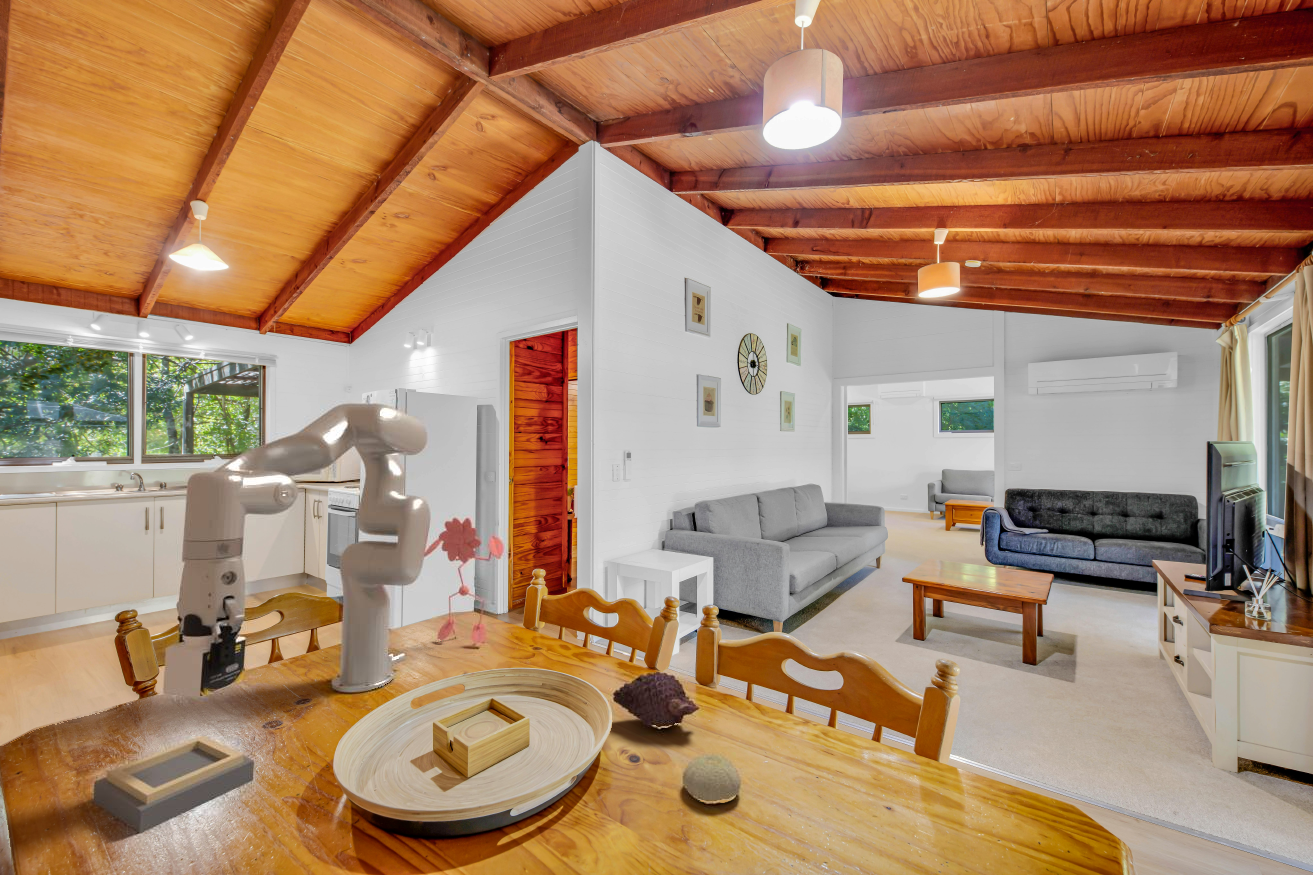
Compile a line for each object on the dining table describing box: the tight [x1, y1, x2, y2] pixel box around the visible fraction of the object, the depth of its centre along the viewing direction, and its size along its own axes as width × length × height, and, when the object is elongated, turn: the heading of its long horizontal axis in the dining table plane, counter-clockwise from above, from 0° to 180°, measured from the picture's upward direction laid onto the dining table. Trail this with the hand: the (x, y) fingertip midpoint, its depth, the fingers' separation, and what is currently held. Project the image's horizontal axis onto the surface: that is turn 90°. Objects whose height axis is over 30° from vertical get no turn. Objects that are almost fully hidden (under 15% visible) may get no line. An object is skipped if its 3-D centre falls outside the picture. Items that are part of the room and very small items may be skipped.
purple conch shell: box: [612, 671, 700, 727], centre depth 109 cm, size 18×10×10 cm, turn 74°
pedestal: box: [92, 735, 255, 834], centre depth 84 cm, size 14×14×4 cm
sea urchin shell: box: [682, 753, 742, 801], centre depth 88 cm, size 9×8×8 cm
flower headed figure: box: [424, 517, 505, 645], centre depth 148 cm, size 15×26×35 cm, turn 73°
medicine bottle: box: [162, 614, 246, 699], centre depth 87 cm, size 7×7×12 cm
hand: (205, 661), depth 87 cm, fingers closed on medicine bottle, 8 cm apart
